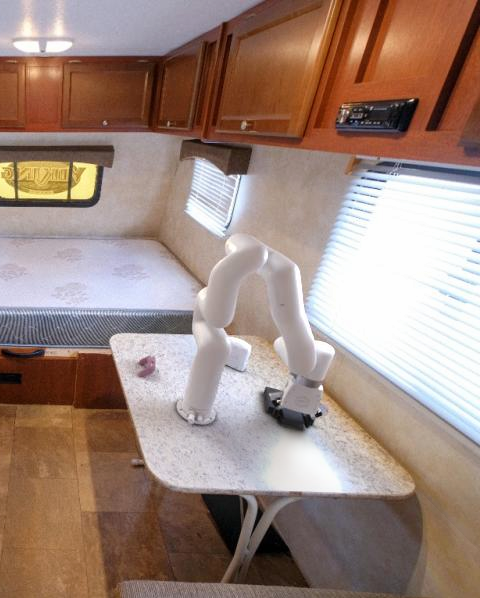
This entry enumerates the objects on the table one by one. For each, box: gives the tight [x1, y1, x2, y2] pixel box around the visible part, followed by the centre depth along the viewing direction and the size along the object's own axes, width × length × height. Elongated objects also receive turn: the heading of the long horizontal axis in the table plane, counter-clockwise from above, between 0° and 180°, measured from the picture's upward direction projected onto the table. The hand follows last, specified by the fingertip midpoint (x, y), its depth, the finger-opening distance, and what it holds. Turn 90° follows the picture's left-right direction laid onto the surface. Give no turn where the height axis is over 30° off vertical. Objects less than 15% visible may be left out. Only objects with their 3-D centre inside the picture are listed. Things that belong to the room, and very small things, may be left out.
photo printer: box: [225, 336, 252, 372], centre depth 147 cm, size 10×4×12 cm, turn 47°
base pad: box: [263, 386, 316, 427], centre depth 126 cm, size 12×14×3 cm
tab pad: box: [279, 407, 305, 431], centre depth 122 cm, size 10×6×3 cm, turn 159°
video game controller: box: [138, 354, 157, 377], centre depth 140 cm, size 10×5×7 cm, turn 171°
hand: (290, 421), depth 120 cm, fingers open, 8 cm apart
